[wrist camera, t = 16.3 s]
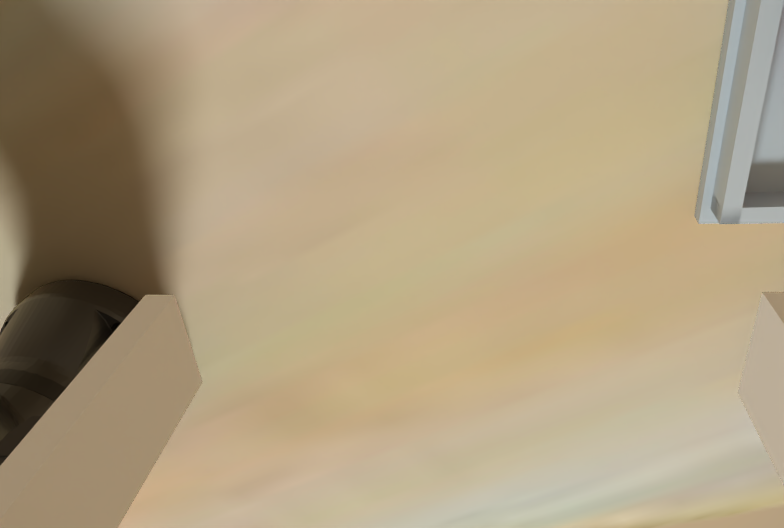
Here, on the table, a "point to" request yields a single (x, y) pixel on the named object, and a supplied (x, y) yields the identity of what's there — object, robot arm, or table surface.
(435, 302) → the table surface
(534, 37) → the table surface
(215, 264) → the table surface
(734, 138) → the grey tray
